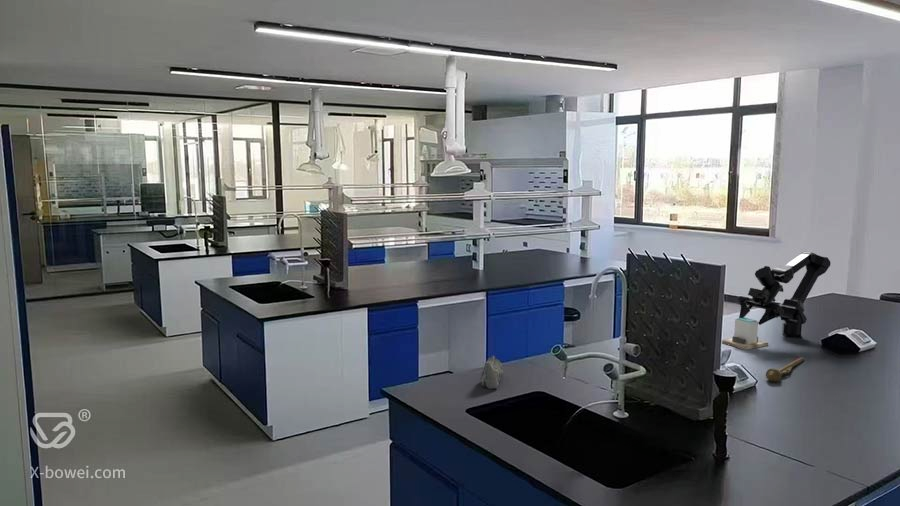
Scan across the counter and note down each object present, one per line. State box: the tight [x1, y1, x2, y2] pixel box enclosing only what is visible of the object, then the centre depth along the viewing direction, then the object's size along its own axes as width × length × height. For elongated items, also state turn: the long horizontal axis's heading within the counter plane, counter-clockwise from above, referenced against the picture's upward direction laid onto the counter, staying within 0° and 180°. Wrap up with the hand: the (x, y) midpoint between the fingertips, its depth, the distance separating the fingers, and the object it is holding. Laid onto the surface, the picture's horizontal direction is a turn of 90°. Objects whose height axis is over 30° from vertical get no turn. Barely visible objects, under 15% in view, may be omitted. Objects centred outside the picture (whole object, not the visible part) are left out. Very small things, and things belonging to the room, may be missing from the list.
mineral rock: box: [480, 355, 505, 390], centre depth 207 cm, size 13×11×10 cm
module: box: [733, 317, 759, 344], centre depth 250 cm, size 5×7×9 cm
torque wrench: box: [765, 356, 805, 383], centre depth 218 cm, size 5×35×5 cm
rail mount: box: [721, 335, 769, 351], centre depth 251 cm, size 14×11×3 cm
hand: (749, 321), depth 251 cm, fingers open, 9 cm apart
